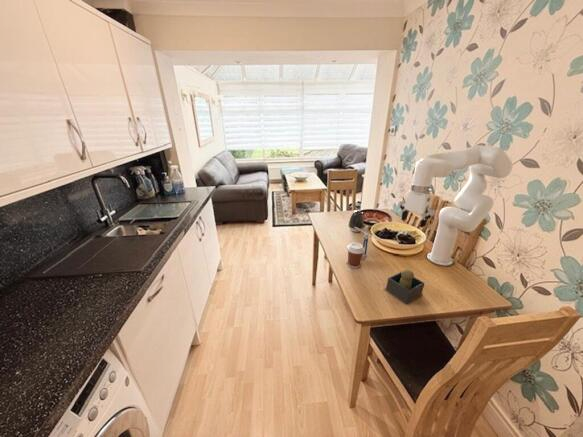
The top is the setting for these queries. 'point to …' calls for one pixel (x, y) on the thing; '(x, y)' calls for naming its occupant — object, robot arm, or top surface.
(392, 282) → the bin
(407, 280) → the olive flared cylinder
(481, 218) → the robot arm
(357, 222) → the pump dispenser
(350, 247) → the coffee cup
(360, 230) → the alien figure
